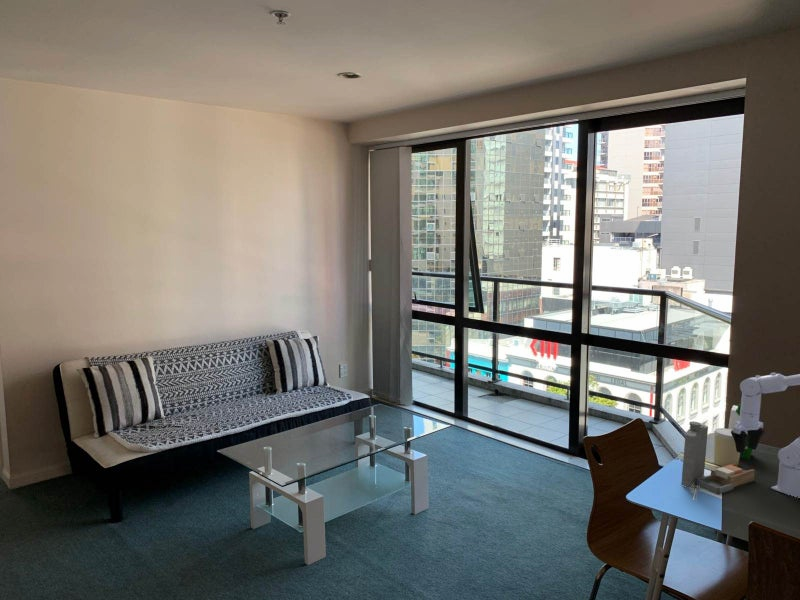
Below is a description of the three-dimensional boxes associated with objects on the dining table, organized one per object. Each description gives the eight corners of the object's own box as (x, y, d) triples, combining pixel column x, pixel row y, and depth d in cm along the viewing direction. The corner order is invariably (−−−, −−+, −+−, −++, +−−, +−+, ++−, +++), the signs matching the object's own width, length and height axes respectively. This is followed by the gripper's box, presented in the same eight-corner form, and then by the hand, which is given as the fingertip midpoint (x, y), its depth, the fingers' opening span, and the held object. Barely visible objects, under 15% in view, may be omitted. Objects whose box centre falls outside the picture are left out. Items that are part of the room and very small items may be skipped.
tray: (733, 489, 195) (733, 483, 194) (718, 494, 191) (719, 488, 190) (709, 480, 201) (710, 474, 201) (695, 485, 197) (696, 479, 197)
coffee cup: (733, 459, 221) (736, 428, 220) (745, 469, 212) (748, 437, 211) (707, 458, 222) (709, 427, 221) (718, 467, 213) (720, 435, 212)
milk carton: (725, 455, 225) (730, 404, 223) (727, 448, 233) (731, 399, 231) (752, 460, 221) (757, 408, 218) (753, 453, 228) (758, 403, 226)
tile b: (734, 476, 199) (734, 471, 198) (727, 479, 197) (727, 473, 196) (722, 472, 202) (723, 467, 202) (715, 474, 200) (716, 469, 200)
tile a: (741, 474, 201) (742, 468, 201) (735, 476, 199) (735, 471, 199) (730, 470, 204) (730, 464, 204) (723, 472, 202) (724, 466, 202)
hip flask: (690, 488, 195) (694, 429, 192) (677, 484, 198) (681, 426, 195) (705, 474, 206) (709, 419, 204) (692, 471, 209) (697, 416, 207)
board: (754, 480, 202) (755, 470, 202) (730, 488, 195) (731, 477, 195) (733, 473, 208) (734, 462, 208) (709, 480, 201) (710, 470, 201)
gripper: (750, 406, 210) (746, 443, 211) (726, 411, 203) (722, 450, 204) (770, 411, 204) (766, 450, 205) (746, 417, 197) (743, 457, 198)
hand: (746, 450), depth 204 cm, fingers open, 7 cm apart
